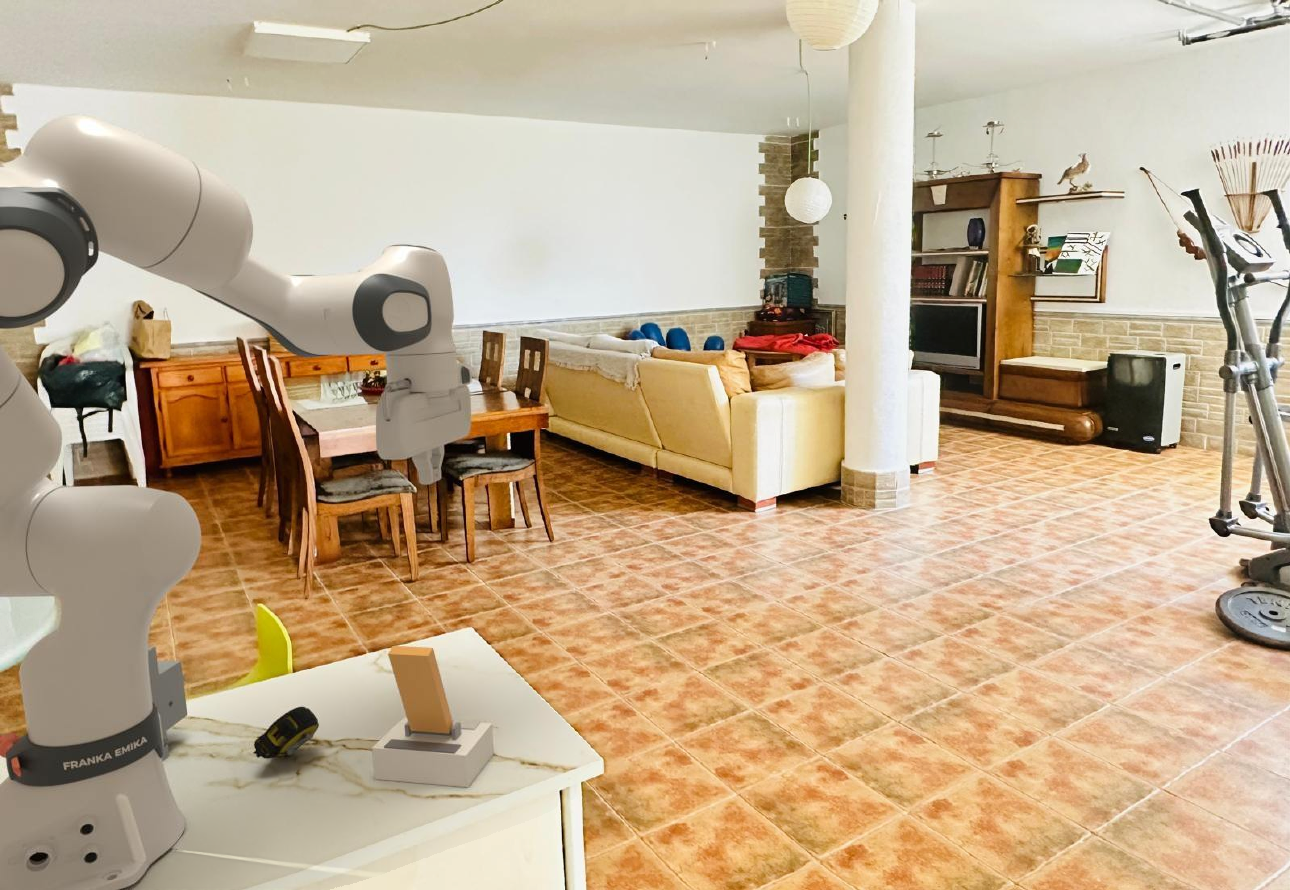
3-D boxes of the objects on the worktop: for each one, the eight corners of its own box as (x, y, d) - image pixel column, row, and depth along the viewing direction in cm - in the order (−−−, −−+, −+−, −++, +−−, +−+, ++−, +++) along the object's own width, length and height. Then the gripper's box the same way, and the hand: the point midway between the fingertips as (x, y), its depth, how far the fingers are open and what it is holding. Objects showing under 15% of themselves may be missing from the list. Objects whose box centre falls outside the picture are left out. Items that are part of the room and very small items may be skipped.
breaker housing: (468, 787, 102) (465, 743, 101) (374, 779, 105) (370, 736, 104) (493, 753, 110) (491, 712, 109) (406, 746, 112) (402, 705, 112)
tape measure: (290, 763, 111) (273, 740, 112) (332, 725, 112) (315, 702, 113) (264, 768, 105) (246, 743, 106) (309, 727, 106) (291, 703, 107)
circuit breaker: (198, 735, 117) (185, 628, 115) (125, 793, 103) (109, 673, 101) (146, 734, 118) (132, 628, 116) (67, 792, 104) (49, 672, 102)
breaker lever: (450, 739, 106) (428, 656, 100) (412, 736, 107) (387, 653, 101) (455, 730, 107) (432, 647, 101) (417, 727, 108) (393, 645, 102)
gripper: (407, 383, 101) (416, 500, 103) (476, 369, 121) (483, 468, 123) (357, 383, 102) (367, 499, 105) (434, 370, 122) (441, 467, 124)
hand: (430, 482), depth 114 cm, fingers closed
